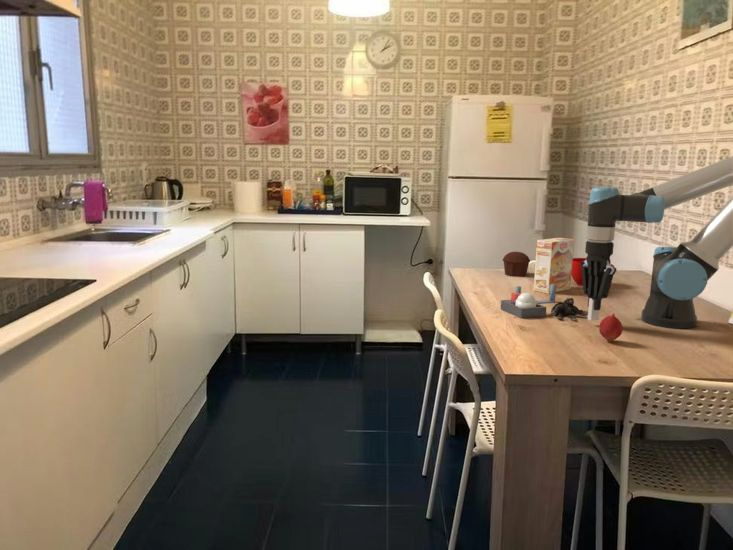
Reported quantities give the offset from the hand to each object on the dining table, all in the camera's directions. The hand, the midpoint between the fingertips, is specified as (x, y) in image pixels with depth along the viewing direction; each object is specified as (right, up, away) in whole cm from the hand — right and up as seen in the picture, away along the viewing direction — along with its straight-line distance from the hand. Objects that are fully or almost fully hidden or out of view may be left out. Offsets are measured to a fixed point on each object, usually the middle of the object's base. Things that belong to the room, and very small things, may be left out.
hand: (592, 319), depth 174 cm
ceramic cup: (+22, +9, +60) cm, 64 cm away
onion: (-2, -5, -16) cm, 17 cm away
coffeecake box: (+4, +7, +50) cm, 50 cm away
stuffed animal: (-3, 0, +11) cm, 12 cm away
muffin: (-3, +13, +80) cm, 81 cm away
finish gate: (-9, +4, +28) cm, 30 cm away
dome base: (-17, +1, +14) cm, 22 cm away
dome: (-17, +1, +12) cm, 21 cm away
